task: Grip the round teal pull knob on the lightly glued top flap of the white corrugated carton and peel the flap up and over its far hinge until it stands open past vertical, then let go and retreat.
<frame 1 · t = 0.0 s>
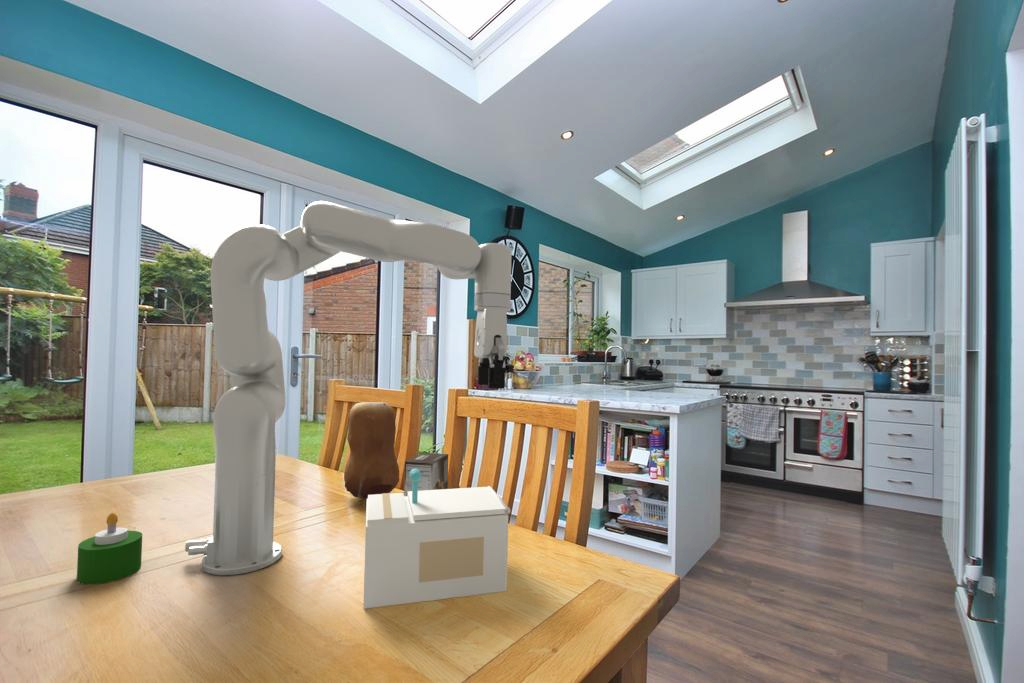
hand: (490, 386, 99), 31 cm above the table, fingers open, 9 cm apart
flap: (456, 486, 82), point 15 cm above the table, hinge at 0.0°
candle: (109, 574, 80), on the table
coffee box: (425, 535, 100), on the table
carton: (432, 578, 81), on the table
butternut squash: (370, 499, 123), on the table
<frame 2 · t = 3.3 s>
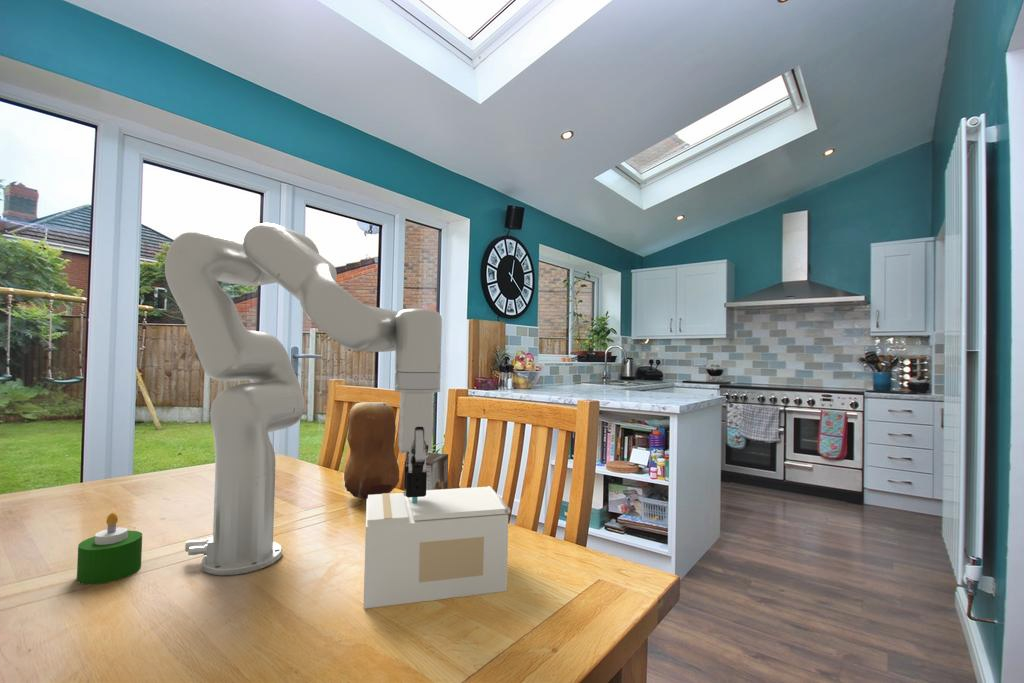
hand: (414, 491, 80), 15 cm above the table, fingers closed on flap, 3 cm apart
flap: (456, 486, 82), point 15 cm above the table, hinge at 0.0°, touching gripper
everything else where it was.
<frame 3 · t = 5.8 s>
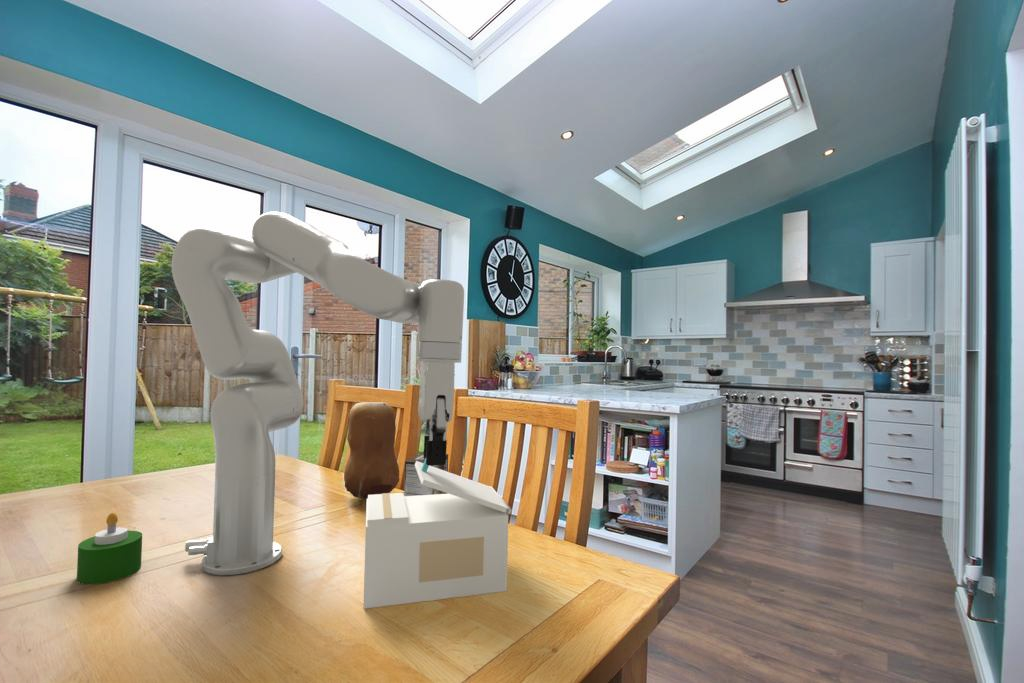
hand: (434, 460, 81), 20 cm above the table, fingers closed on flap, 3 cm apart
flap: (466, 471, 83), point 18 cm above the table, hinge at 21.4°, touching gripper
everything else where it was.
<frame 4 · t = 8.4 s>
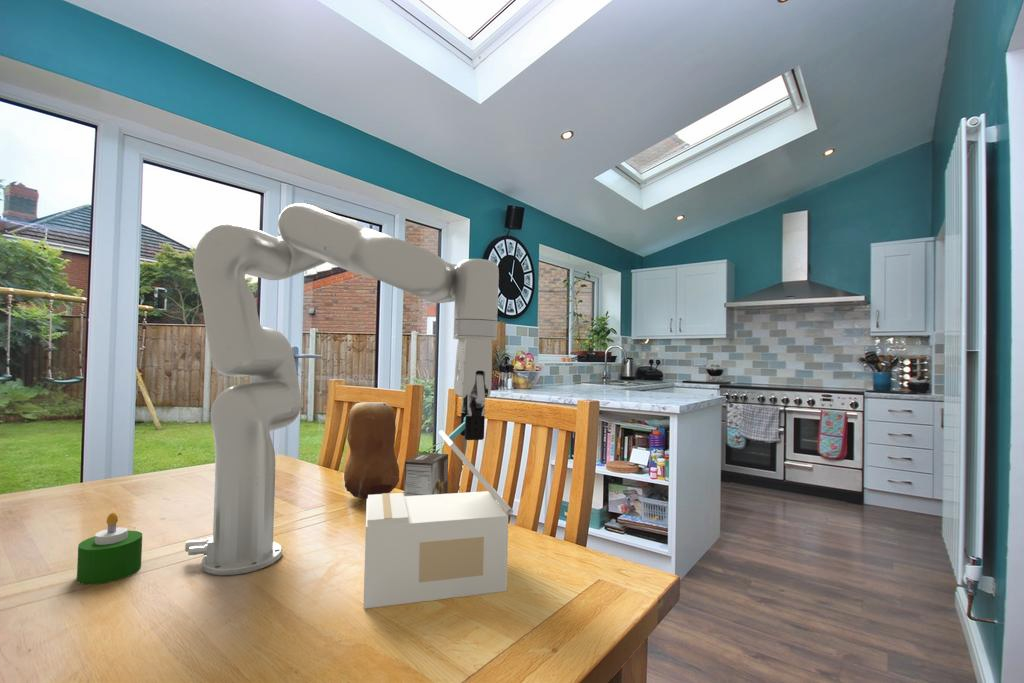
hand: (471, 436, 83), 24 cm above the table, fingers closed on flap, 3 cm apart
flap: (485, 459, 83), point 20 cm above the table, hinge at 48.8°, touching gripper
everything else where it was.
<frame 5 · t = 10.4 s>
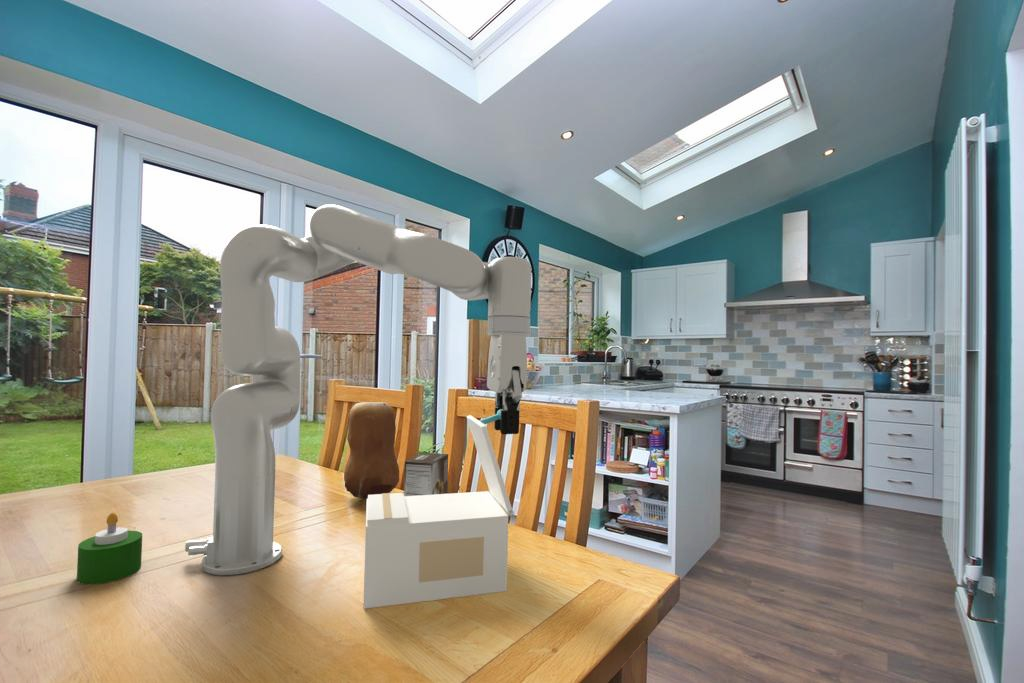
hand: (506, 430, 85), 24 cm above the table, fingers closed on flap, 3 cm apart
flap: (502, 456, 84), point 20 cm above the table, hinge at 71.2°, touching gripper
everything else where it was.
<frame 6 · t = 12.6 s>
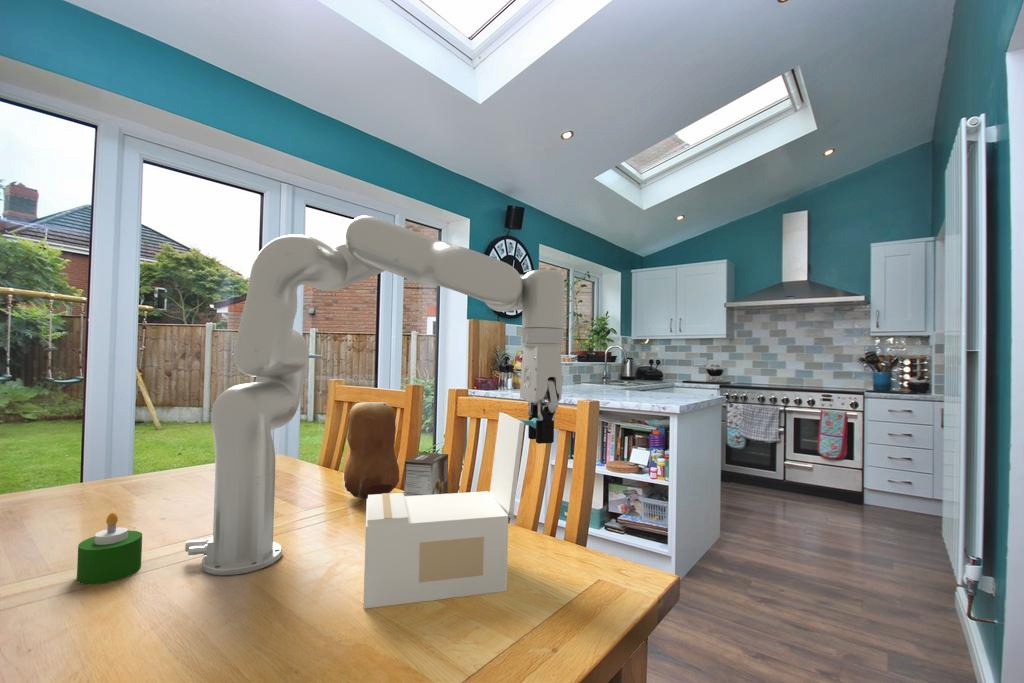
hand: (540, 439, 86), 23 cm above the table, fingers closed on flap, 3 cm apart
flap: (520, 461, 85), point 19 cm above the table, hinge at 96.0°, touching gripper
everything else where it was.
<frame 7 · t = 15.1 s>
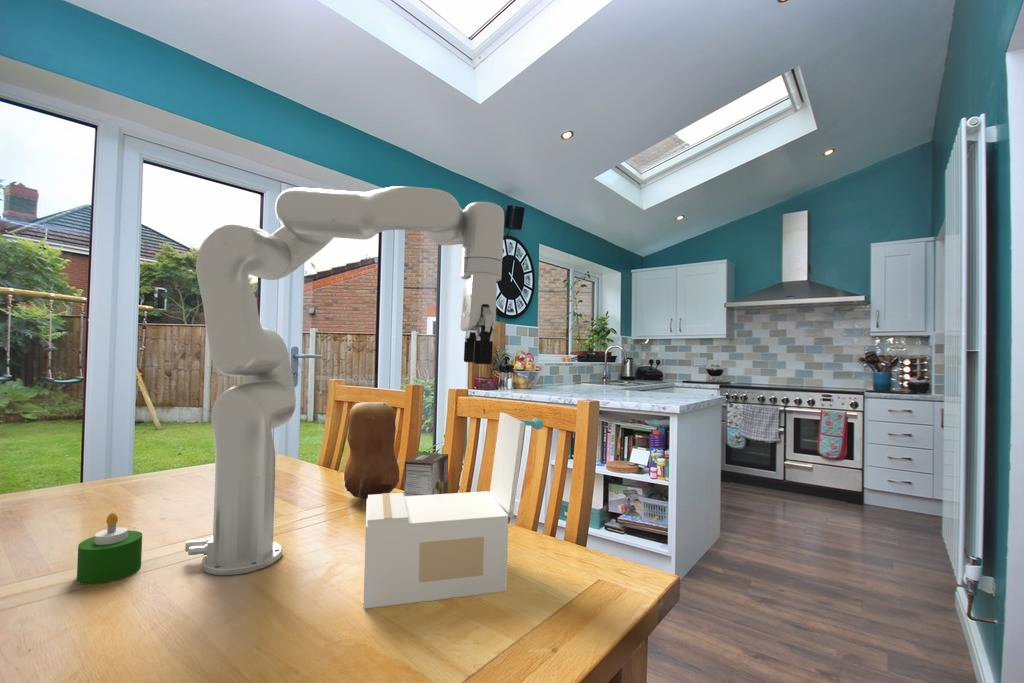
hand: (476, 363, 89), 36 cm above the table, fingers open, 9 cm apart
flap: (520, 461, 85), point 19 cm above the table, hinge at 96.4°
everything else where it was.
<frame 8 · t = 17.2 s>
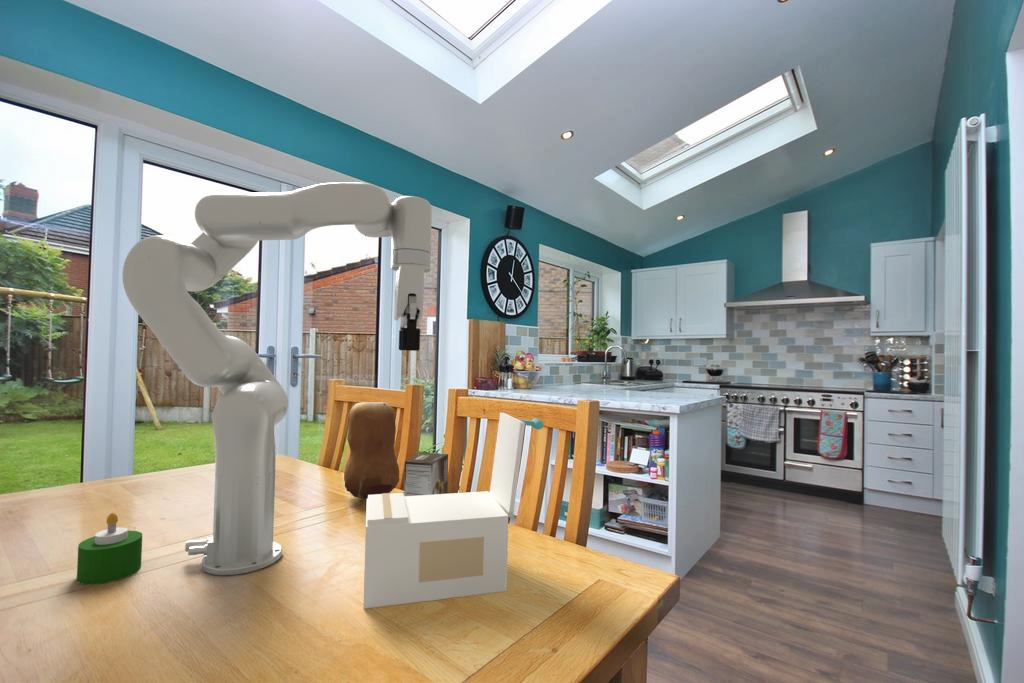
hand: (408, 350, 93), 38 cm above the table, fingers open, 9 cm apart
nothing on the table moved.
at the end: flap at +96° (first picture: +0°); the gripper is holding nothing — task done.
